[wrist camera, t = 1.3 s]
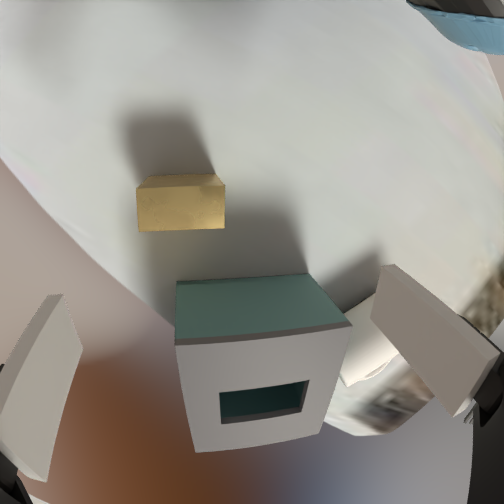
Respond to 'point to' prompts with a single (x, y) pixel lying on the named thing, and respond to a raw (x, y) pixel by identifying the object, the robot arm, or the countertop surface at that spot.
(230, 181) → the countertop surface
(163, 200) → the gold block
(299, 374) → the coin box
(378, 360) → the mug
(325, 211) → the countertop surface
